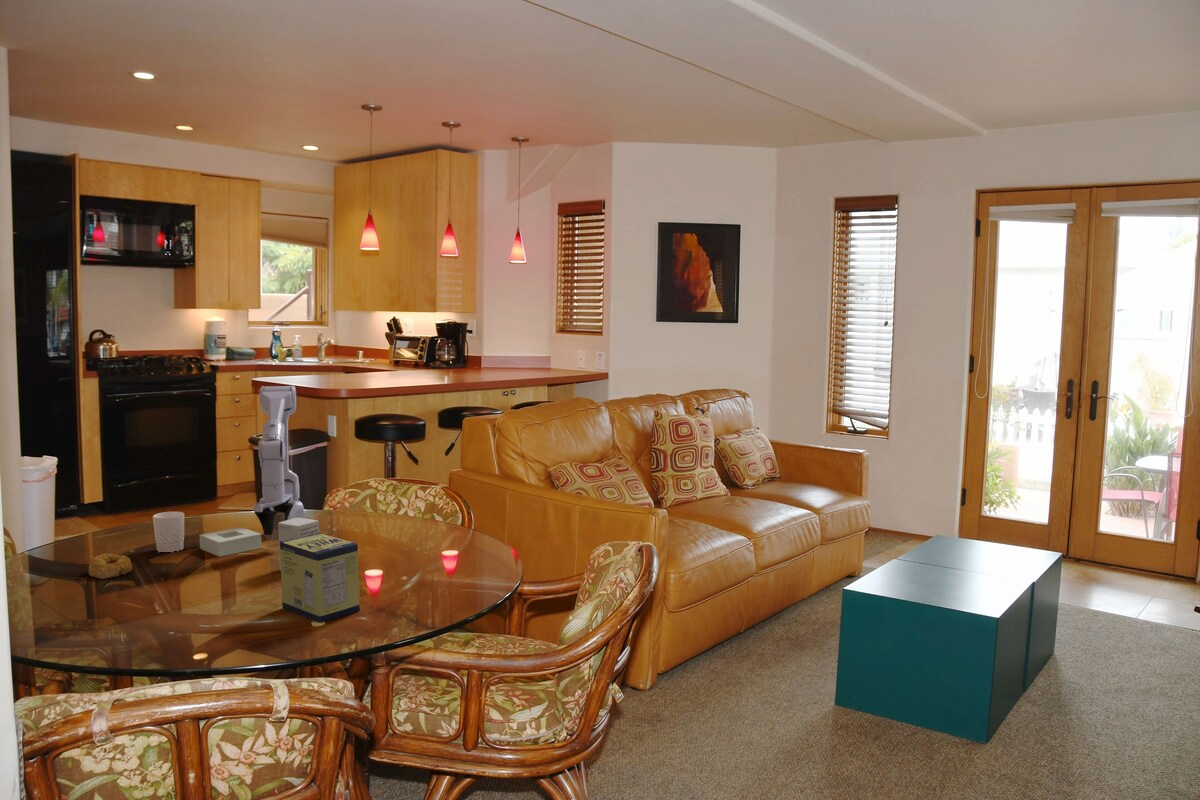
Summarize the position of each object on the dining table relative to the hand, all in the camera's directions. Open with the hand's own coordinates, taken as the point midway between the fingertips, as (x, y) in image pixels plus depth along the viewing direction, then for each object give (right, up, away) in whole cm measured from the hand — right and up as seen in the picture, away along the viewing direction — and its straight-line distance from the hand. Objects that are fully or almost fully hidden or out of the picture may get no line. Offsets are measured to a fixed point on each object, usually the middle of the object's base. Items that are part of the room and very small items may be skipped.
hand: (275, 531), depth 249 cm
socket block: (-14, -5, +3) cm, 15 cm away
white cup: (-30, -6, +2) cm, 30 cm away
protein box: (+27, -11, -47) cm, 55 cm away
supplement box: (+12, -7, -16) cm, 21 cm away
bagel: (-35, -8, -20) cm, 41 cm away
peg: (0, -2, 0) cm, 2 cm away
